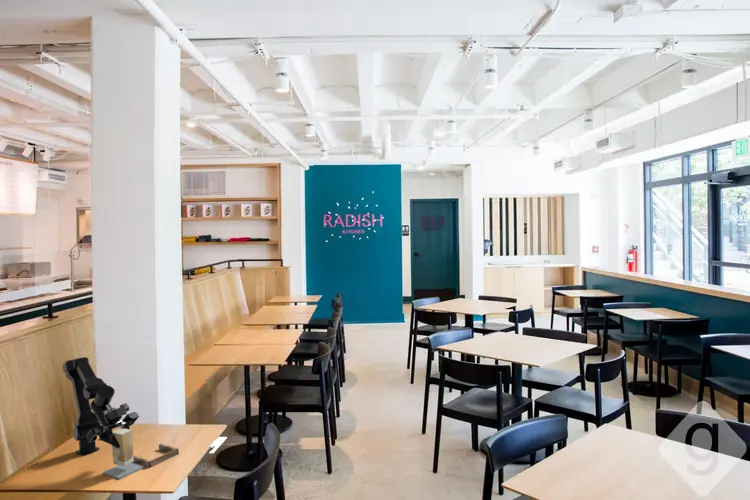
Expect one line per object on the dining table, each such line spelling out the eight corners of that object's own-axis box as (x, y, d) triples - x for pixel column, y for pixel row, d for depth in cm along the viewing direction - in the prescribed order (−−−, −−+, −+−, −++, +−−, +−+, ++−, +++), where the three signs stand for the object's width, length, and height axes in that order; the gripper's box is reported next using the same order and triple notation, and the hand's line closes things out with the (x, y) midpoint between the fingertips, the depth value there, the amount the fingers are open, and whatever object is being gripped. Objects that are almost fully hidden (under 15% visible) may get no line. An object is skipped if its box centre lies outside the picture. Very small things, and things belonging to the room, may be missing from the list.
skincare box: (112, 464, 186) (109, 432, 185) (122, 459, 190) (120, 427, 189) (124, 466, 183) (121, 434, 183) (134, 461, 187) (131, 429, 187)
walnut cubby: (132, 461, 194) (131, 456, 194) (161, 448, 205) (160, 443, 205) (149, 467, 188) (149, 462, 188) (178, 453, 200) (178, 448, 199)
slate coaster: (103, 473, 185) (103, 471, 185) (128, 462, 193) (128, 460, 193) (119, 479, 180) (119, 477, 180) (144, 467, 188) (144, 466, 188)
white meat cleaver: (200, 454, 199) (200, 451, 199) (215, 439, 214) (215, 436, 214) (212, 454, 199) (212, 451, 199) (227, 439, 214) (227, 436, 214)
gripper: (89, 407, 179) (111, 442, 175) (134, 391, 196) (155, 423, 191) (76, 425, 183) (97, 460, 178) (122, 408, 200) (142, 439, 195)
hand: (124, 444), depth 186 cm, fingers closed on skincare box, 4 cm apart
